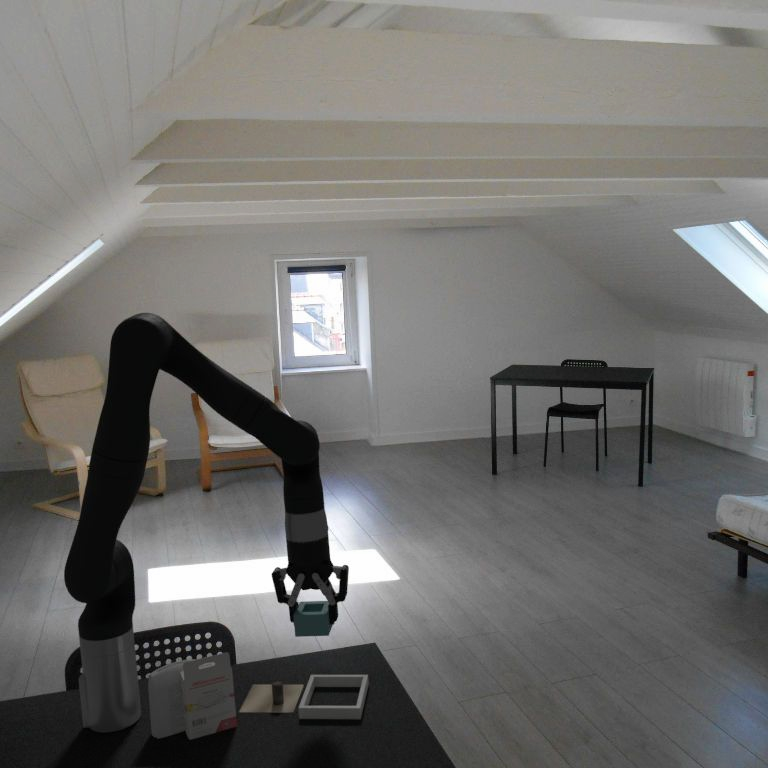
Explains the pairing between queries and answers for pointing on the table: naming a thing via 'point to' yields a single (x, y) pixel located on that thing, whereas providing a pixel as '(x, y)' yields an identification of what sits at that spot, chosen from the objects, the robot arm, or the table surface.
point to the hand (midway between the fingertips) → (314, 623)
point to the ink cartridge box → (208, 695)
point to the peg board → (272, 698)
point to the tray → (333, 711)
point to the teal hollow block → (312, 619)
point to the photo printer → (166, 700)
